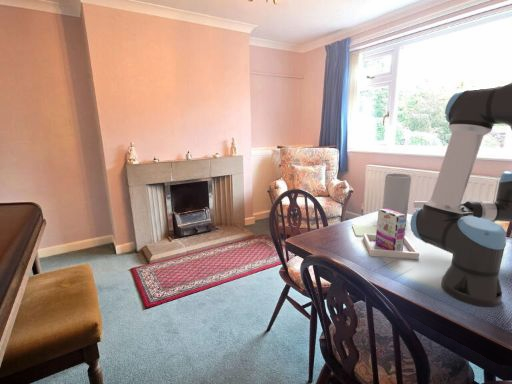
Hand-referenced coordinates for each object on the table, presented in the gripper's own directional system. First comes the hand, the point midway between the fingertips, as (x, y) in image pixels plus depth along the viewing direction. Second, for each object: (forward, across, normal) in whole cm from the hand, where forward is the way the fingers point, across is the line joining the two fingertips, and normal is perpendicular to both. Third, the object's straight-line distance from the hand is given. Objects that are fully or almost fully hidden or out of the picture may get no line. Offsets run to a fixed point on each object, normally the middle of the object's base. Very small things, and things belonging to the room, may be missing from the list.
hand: (419, 209), depth 114 cm
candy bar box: (+10, 0, -18) cm, 21 cm away
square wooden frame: (+10, 0, -18) cm, 21 cm away
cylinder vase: (-1, +40, -19) cm, 44 cm away
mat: (+16, +18, -18) cm, 29 cm away
